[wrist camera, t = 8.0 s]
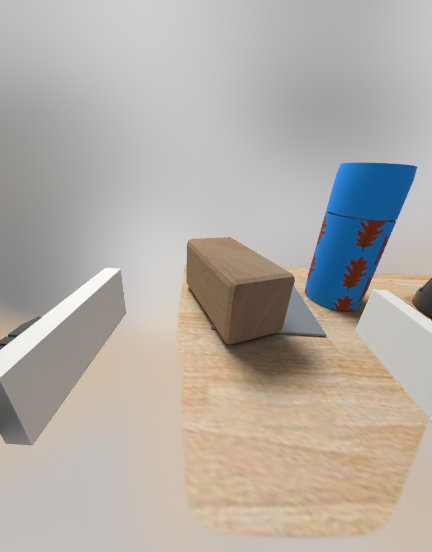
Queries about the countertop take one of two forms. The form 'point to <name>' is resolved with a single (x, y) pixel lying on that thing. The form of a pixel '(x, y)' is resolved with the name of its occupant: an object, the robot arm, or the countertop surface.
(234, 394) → the countertop surface
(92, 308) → the robot arm
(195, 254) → the block
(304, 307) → the mat
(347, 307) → the thermos
